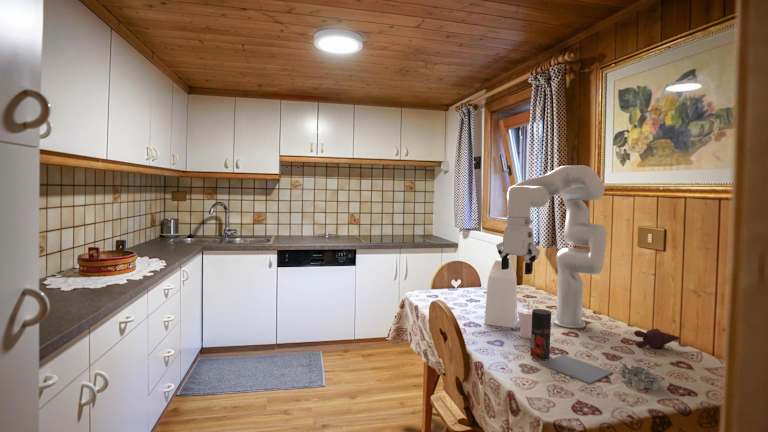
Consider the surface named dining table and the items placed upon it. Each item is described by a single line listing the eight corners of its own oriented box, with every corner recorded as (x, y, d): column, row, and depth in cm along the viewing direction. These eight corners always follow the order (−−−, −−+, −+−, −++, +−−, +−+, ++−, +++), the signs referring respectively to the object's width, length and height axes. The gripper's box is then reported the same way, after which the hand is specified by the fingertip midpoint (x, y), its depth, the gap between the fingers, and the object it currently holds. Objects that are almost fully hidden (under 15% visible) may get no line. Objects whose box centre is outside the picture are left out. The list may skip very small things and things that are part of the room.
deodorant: (553, 357, 135) (555, 312, 134) (541, 361, 132) (543, 315, 131) (537, 351, 140) (539, 308, 139) (526, 354, 137) (528, 310, 136)
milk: (484, 323, 169) (486, 261, 168) (488, 316, 180) (490, 257, 178) (514, 327, 164) (517, 263, 163) (517, 319, 175) (519, 259, 174)
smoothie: (536, 340, 150) (537, 302, 150) (517, 339, 152) (519, 301, 151) (533, 334, 157) (534, 298, 156) (515, 333, 158) (517, 297, 157)
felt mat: (562, 355, 137) (563, 354, 137) (612, 373, 124) (612, 372, 124) (539, 364, 129) (539, 363, 129) (589, 384, 116) (590, 382, 116)
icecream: (671, 326, 149) (628, 328, 151) (684, 328, 142) (638, 329, 144) (675, 346, 148) (631, 348, 149) (688, 349, 141) (642, 350, 142)
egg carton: (617, 373, 124) (617, 360, 124) (643, 375, 123) (644, 362, 123) (633, 390, 114) (634, 375, 114) (662, 392, 113) (663, 377, 113)
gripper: (547, 223, 136) (545, 275, 137) (505, 220, 150) (503, 266, 151) (533, 224, 132) (531, 277, 133) (491, 220, 146) (489, 268, 147)
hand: (516, 271), depth 142 cm, fingers open, 9 cm apart
